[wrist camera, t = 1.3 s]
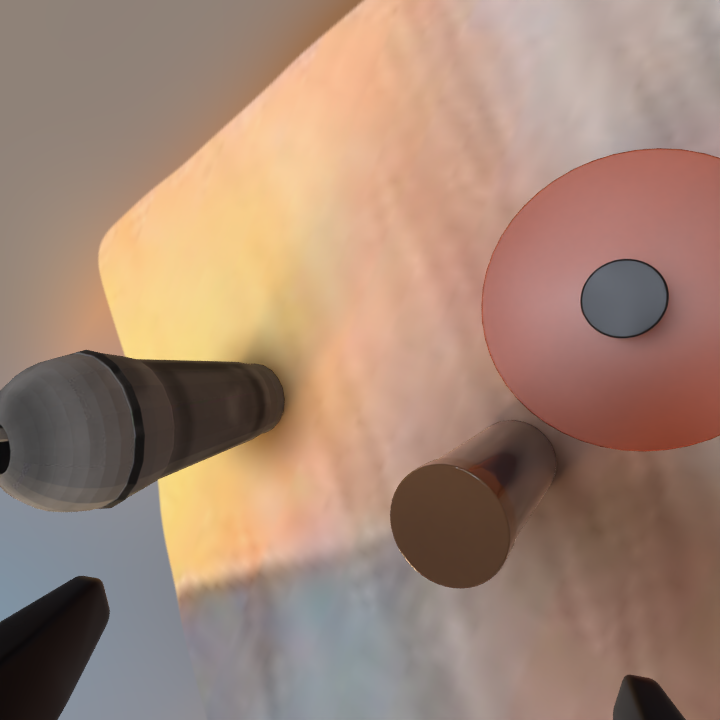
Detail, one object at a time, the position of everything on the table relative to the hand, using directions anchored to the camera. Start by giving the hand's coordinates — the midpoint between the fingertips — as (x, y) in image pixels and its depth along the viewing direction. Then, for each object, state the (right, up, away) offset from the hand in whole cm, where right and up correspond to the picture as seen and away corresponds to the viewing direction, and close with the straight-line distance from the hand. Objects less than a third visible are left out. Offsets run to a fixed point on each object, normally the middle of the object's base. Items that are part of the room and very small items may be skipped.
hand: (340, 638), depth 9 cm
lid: (+10, +7, +11) cm, 17 cm away
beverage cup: (-6, +2, +25) cm, 26 cm away
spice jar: (+8, 0, +17) cm, 19 cm away
